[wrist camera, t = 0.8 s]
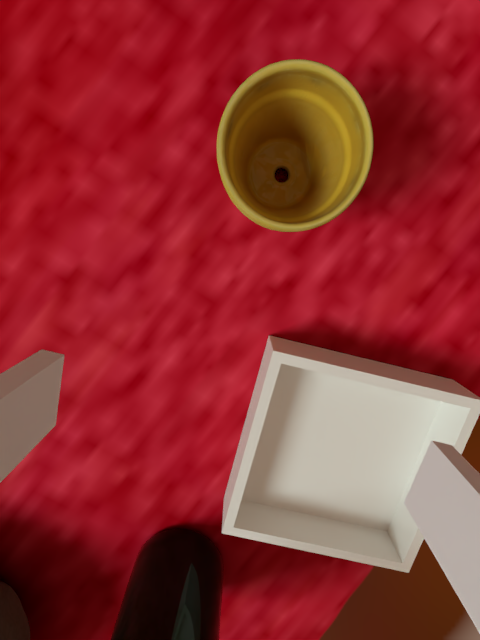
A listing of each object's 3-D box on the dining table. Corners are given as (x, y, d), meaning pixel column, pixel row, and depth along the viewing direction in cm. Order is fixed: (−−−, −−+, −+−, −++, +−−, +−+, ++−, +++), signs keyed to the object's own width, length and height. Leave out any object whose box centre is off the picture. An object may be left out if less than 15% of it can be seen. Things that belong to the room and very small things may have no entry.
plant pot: (352, 133, 31) (400, 87, 21) (314, 246, 33) (343, 249, 24) (241, 97, 30) (241, 33, 21) (210, 215, 33) (197, 205, 23)
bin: (268, 335, 35) (273, 350, 30) (452, 379, 36) (485, 401, 31) (224, 497, 40) (221, 533, 35) (388, 532, 41) (408, 572, 36)
